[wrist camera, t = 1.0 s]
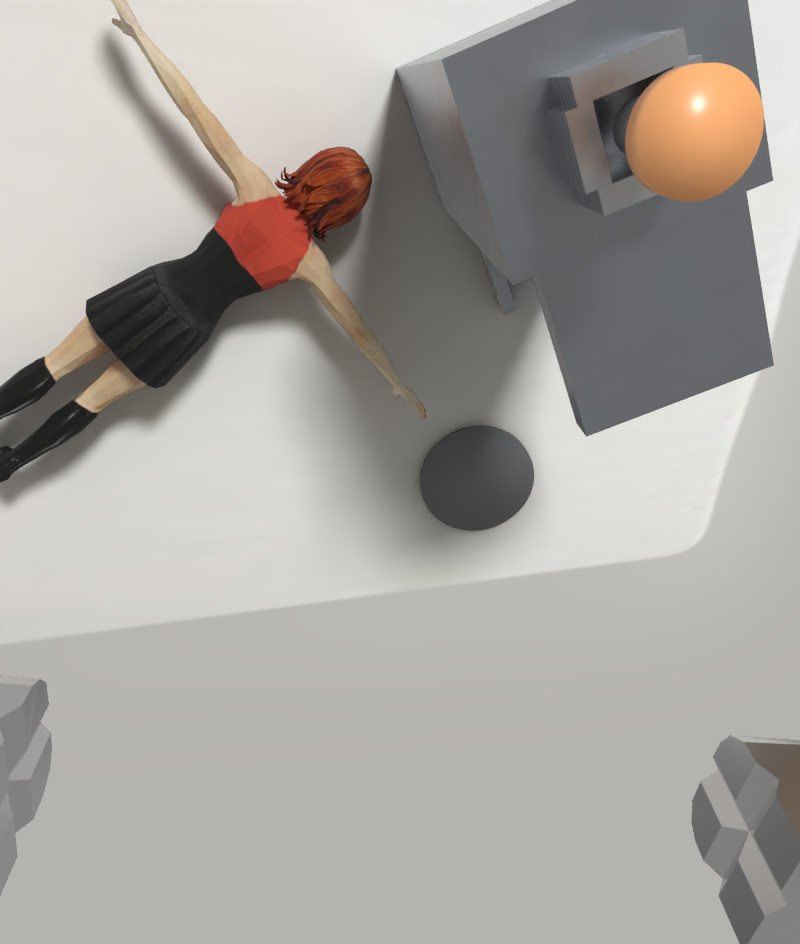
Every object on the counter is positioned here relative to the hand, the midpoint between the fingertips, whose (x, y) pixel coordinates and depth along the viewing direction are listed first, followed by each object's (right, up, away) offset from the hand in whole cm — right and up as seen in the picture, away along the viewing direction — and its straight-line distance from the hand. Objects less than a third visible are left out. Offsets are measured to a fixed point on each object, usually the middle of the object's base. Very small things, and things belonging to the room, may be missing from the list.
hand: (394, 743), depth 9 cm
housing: (+7, +21, +36) cm, 42 cm away
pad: (+5, +3, +45) cm, 45 cm away
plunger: (+8, +14, +15) cm, 22 cm away
